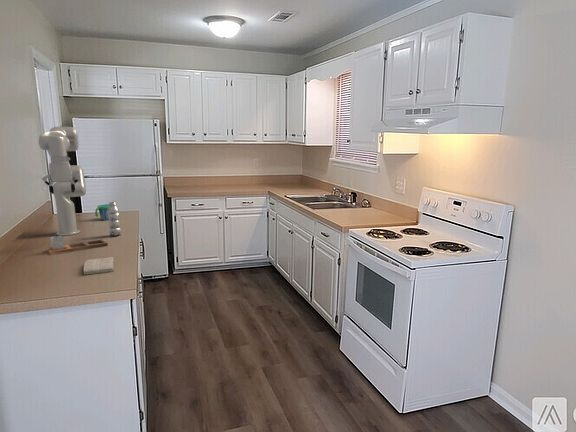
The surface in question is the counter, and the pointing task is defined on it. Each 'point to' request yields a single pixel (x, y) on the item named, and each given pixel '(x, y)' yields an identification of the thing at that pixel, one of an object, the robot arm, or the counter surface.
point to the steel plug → (57, 243)
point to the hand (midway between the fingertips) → (62, 192)
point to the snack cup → (103, 211)
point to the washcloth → (98, 266)
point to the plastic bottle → (113, 219)
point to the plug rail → (82, 247)
